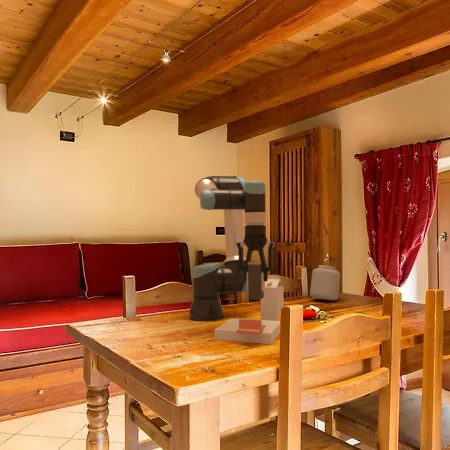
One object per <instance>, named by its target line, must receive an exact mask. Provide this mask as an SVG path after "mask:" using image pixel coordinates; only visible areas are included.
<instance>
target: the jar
mask: <svg viewBox="0 0 450 450" xmlns="http://www.w3.org/2000/svg"><path fill="white" fill-rule="evenodd" d="M326 256H327V257H329V255H328V254H327V255H326ZM326 260H328V258H325V261H326ZM336 268H337V267H335V266H331V265H322V264H321V265H320V264H319V265H318V267H317V268H314V269H313V270H312V271H311V280H310V281H311V283H310V290H309V291H310V292H309V295H310V296H311V297H312V298H314V299H318V300H324V301H325V300H326V301H336V300H338V299H339V293H340V286H341V285H340V283H341V273H340V272H339V271H338V270H336Z"/></svg>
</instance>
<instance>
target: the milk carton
mask: <svg viewBox="0 0 450 450" xmlns="http://www.w3.org/2000/svg"><path fill="white" fill-rule="evenodd" d="M284 290H285V289H284V283H283V282H282V280H281V276H271V275H270V276H269V275H268V281H265V291H264V297H263V298H262V299H260V320H270V321H280V312H281V308H282V307H283V306H284V307H285V305H284V304H285V303H284V302H285V301H284V300H285V299H284V296H285V293H284Z"/></svg>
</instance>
